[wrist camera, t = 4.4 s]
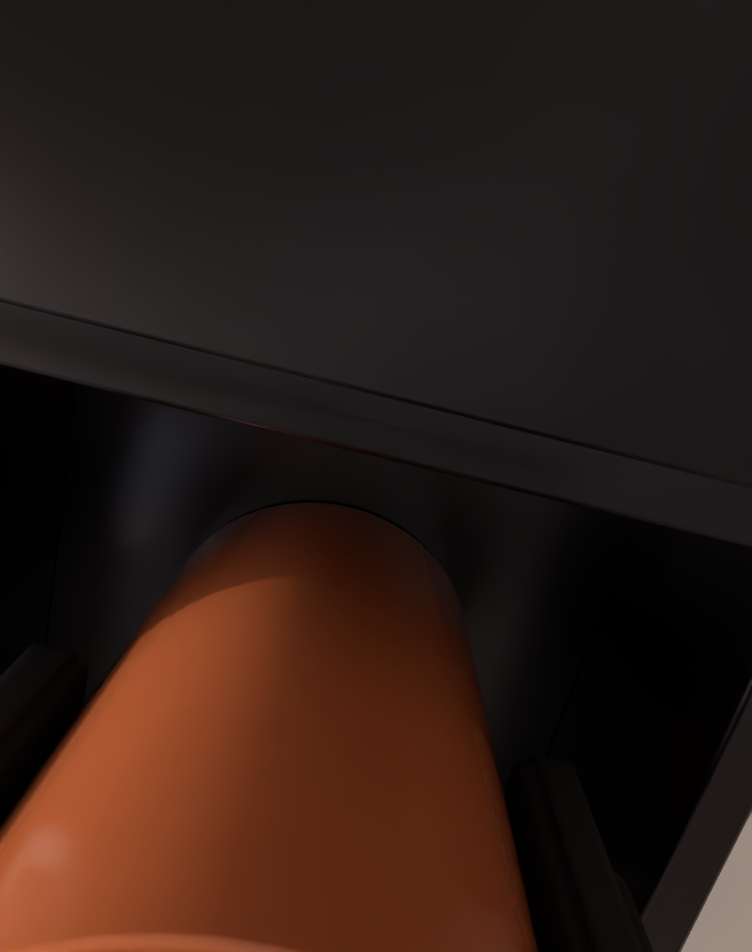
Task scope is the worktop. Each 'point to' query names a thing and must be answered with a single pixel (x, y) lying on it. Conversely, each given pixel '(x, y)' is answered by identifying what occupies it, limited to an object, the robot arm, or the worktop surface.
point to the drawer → (441, 532)
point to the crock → (277, 764)
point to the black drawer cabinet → (405, 201)
